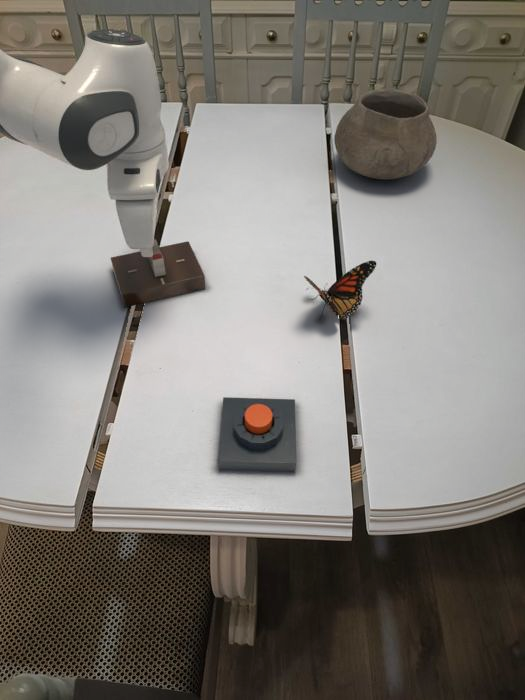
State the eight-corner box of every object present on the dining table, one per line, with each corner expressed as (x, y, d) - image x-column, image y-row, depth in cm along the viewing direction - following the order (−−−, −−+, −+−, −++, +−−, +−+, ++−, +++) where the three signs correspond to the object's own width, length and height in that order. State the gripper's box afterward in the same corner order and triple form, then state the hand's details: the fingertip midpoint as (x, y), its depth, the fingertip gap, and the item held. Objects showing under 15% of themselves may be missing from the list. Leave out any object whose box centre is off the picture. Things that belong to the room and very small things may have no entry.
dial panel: (124, 307, 88) (121, 293, 86) (113, 270, 94) (110, 256, 92) (205, 288, 92) (204, 274, 89) (189, 254, 98) (188, 240, 95)
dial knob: (147, 257, 92) (144, 240, 89) (158, 255, 93) (155, 237, 90) (155, 277, 89) (152, 259, 86) (165, 274, 89) (163, 257, 86)
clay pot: (349, 137, 128) (359, 72, 117) (437, 157, 123) (456, 91, 111) (317, 180, 115) (324, 112, 104) (413, 206, 110) (432, 136, 98)
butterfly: (348, 283, 93) (357, 237, 86) (376, 320, 88) (388, 274, 80) (285, 300, 90) (288, 253, 83) (309, 339, 84) (315, 293, 77)
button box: (218, 469, 69) (217, 453, 66) (223, 406, 76) (222, 389, 73) (295, 471, 69) (297, 456, 66) (293, 408, 76) (295, 391, 73)
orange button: (244, 434, 68) (244, 426, 67) (245, 410, 71) (245, 403, 70) (272, 434, 68) (272, 427, 67) (272, 411, 71) (272, 404, 70)
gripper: (121, 122, 83) (135, 200, 93) (105, 196, 69) (124, 277, 80) (162, 122, 83) (171, 199, 93) (154, 195, 70) (166, 276, 80)
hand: (149, 235), depth 86 cm, fingers open, 8 cm apart
